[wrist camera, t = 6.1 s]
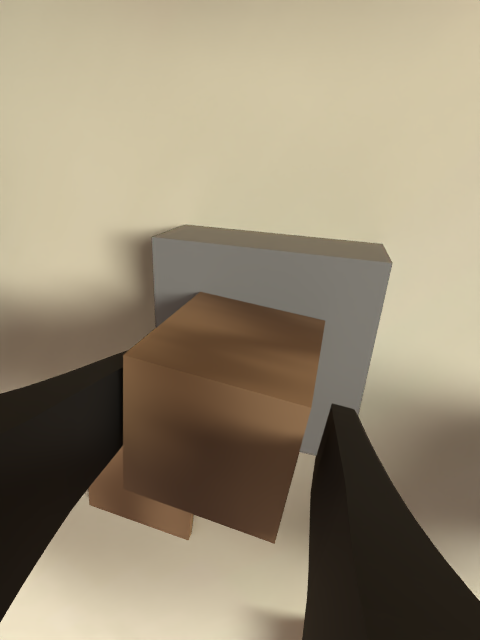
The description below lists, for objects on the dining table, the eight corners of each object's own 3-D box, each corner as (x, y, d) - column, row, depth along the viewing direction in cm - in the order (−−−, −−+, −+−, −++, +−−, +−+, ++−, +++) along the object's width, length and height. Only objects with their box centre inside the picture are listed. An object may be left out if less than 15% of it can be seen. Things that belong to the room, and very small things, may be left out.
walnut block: (325, 320, 12) (310, 407, 8) (298, 424, 14) (274, 543, 10) (200, 291, 13) (123, 354, 9) (190, 393, 15) (123, 489, 10)
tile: (200, 450, 20) (197, 457, 20) (191, 533, 23) (188, 540, 23) (90, 416, 21) (84, 422, 21) (94, 498, 24) (89, 505, 24)
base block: (381, 242, 14) (392, 263, 11) (346, 409, 17) (347, 462, 14) (189, 223, 16) (151, 236, 13) (190, 379, 19) (160, 420, 16)
